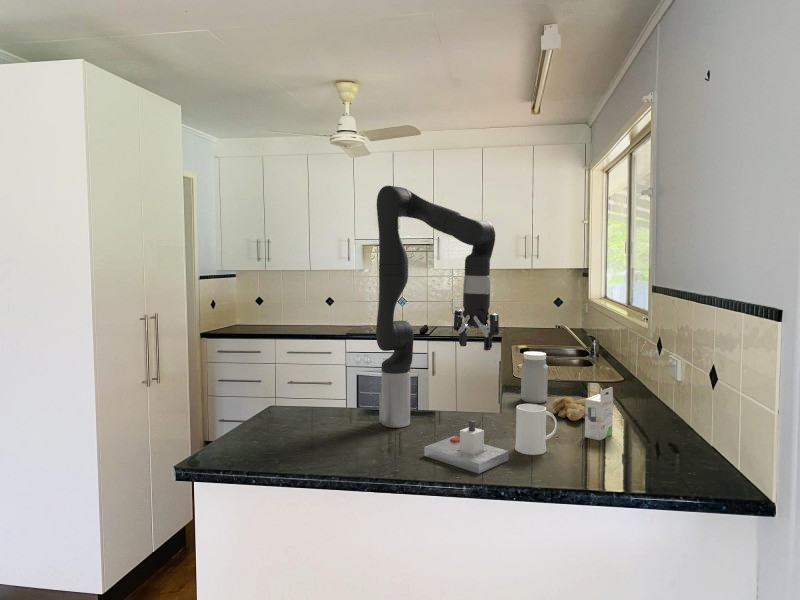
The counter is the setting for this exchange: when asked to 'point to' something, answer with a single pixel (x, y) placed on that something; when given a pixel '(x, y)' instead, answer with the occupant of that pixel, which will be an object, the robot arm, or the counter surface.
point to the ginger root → (570, 408)
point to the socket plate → (465, 455)
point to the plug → (472, 440)
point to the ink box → (599, 415)
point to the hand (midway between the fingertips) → (475, 348)
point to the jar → (534, 377)
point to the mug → (532, 429)
